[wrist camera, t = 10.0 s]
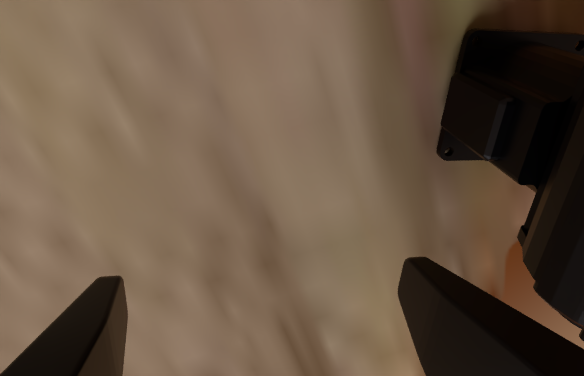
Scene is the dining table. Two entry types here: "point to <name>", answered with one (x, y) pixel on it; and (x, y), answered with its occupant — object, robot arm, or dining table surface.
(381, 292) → the dining table surface
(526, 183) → the robot arm
